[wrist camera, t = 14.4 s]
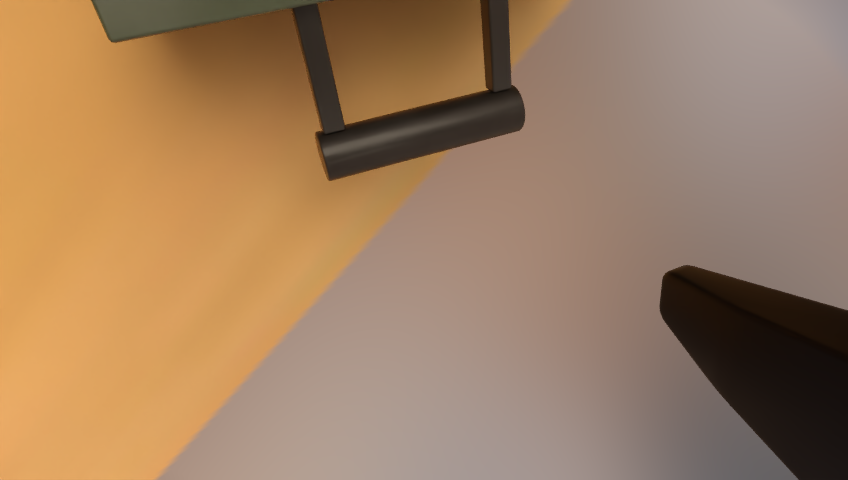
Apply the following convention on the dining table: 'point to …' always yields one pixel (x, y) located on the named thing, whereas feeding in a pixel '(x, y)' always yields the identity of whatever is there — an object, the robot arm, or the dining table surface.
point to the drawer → (337, 143)
